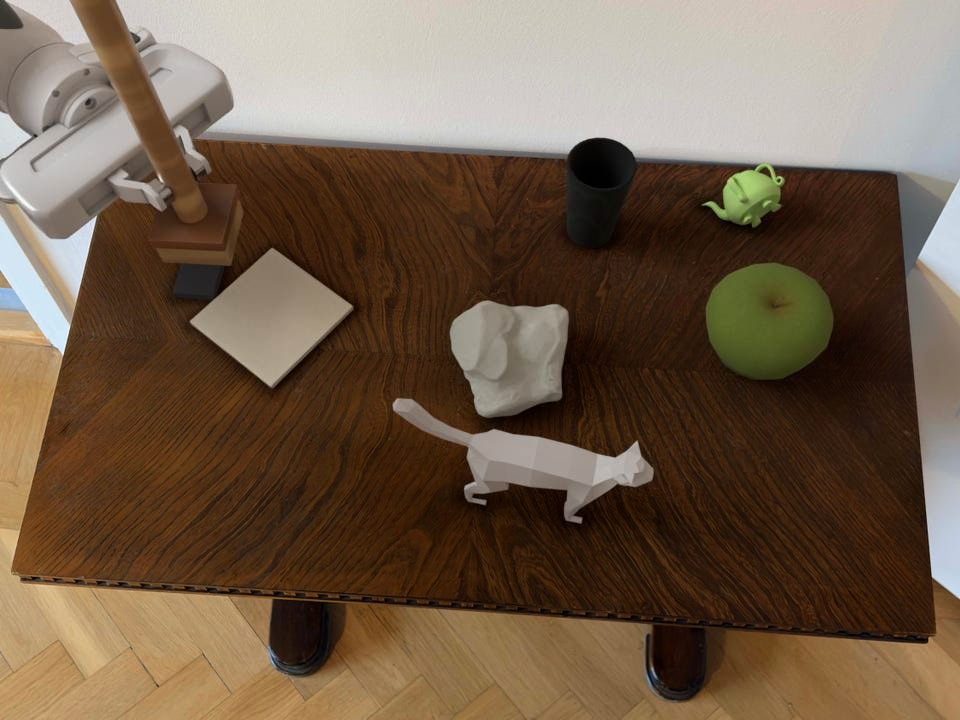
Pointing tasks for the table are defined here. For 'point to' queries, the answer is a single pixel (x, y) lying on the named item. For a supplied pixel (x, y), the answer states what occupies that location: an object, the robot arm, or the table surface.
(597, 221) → the cup
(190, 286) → the felt pad
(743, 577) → the table surface
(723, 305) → the apple
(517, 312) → the decorative stone
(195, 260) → the wooden post stand
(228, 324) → the tile
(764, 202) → the green kettle
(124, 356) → the table surface
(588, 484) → the cat figurine
